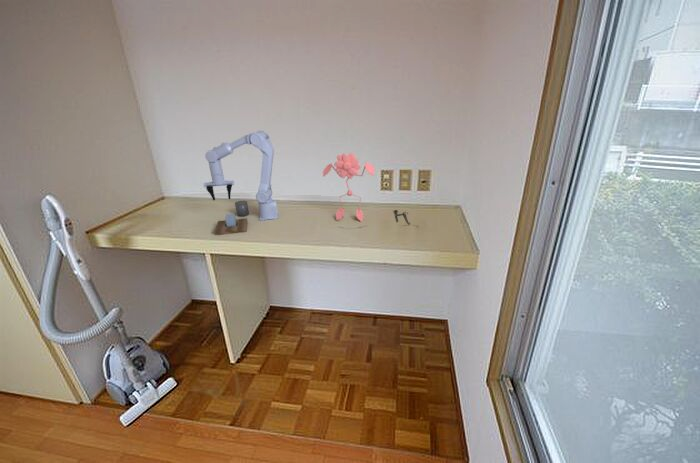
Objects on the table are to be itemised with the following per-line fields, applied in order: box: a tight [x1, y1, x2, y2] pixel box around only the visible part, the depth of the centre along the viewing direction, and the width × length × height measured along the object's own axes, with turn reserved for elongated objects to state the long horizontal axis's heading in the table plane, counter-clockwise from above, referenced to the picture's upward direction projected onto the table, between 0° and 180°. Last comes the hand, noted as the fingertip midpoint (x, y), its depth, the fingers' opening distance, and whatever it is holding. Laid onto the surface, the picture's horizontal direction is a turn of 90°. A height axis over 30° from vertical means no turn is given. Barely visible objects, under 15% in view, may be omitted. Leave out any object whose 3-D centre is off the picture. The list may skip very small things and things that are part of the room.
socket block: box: [214, 217, 249, 236], centre depth 158 cm, size 14×12×2 cm
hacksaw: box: [393, 209, 419, 229], centre depth 165 cm, size 24×10×2 cm, turn 178°
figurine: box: [322, 152, 375, 229], centre depth 155 cm, size 15×26×35 cm, turn 78°
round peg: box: [234, 200, 250, 218], centre depth 175 cm, size 6×6×7 cm
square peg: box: [224, 213, 237, 227], centre depth 157 cm, size 4×4×7 cm
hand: (222, 199), depth 169 cm, fingers open, 7 cm apart
